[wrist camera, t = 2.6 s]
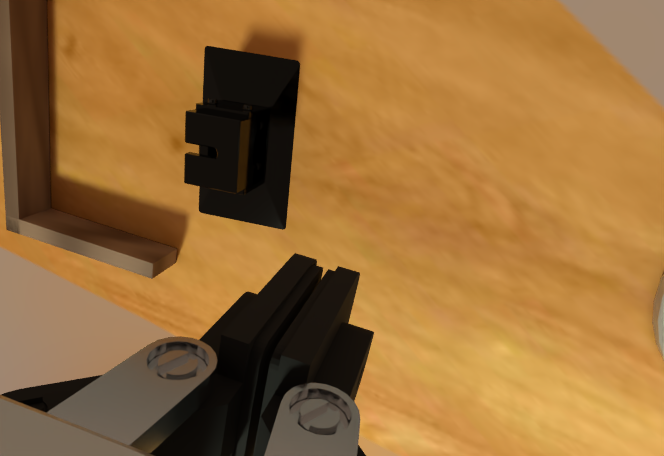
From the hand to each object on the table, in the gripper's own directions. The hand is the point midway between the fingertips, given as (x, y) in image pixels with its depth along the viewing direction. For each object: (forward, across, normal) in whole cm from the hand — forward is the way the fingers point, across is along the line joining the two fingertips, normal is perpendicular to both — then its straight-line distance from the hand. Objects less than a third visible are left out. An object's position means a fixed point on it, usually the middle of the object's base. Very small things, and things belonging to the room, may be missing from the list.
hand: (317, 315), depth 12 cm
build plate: (+16, +9, 0) cm, 18 cm away
